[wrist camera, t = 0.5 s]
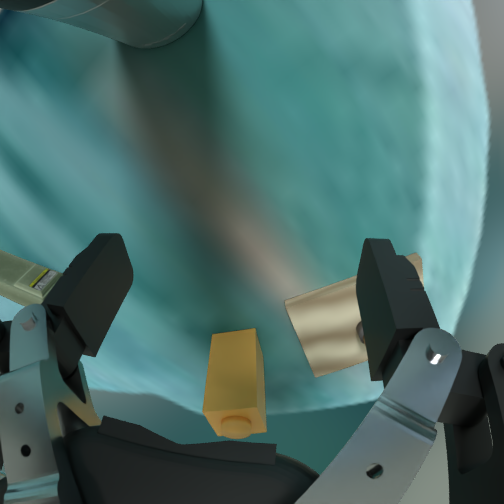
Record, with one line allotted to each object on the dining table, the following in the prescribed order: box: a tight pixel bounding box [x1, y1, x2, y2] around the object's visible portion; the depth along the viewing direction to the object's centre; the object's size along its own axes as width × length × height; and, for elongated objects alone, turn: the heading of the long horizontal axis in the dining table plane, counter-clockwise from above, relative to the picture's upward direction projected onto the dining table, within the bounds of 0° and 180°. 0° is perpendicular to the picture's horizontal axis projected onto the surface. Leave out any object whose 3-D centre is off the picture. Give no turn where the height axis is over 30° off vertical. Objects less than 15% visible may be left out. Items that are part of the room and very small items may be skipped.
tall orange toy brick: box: [202, 328, 267, 439], centre depth 33 cm, size 6×6×13 cm
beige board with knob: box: [285, 253, 424, 378], centre depth 35 cm, size 14×17×6 cm
